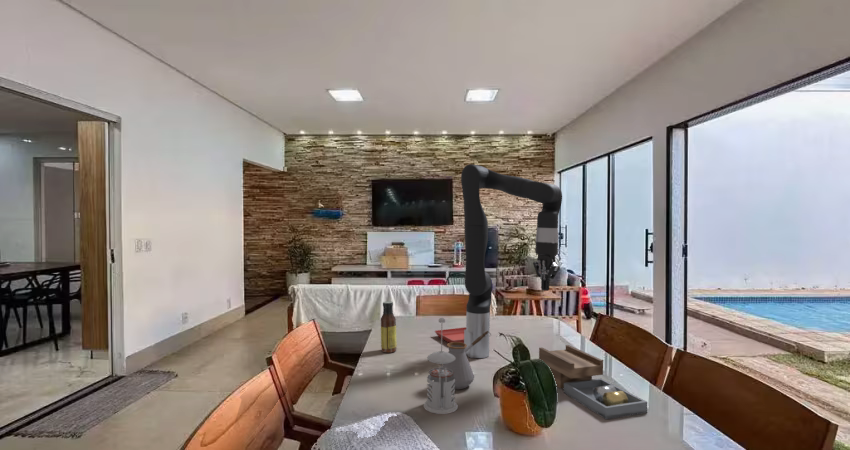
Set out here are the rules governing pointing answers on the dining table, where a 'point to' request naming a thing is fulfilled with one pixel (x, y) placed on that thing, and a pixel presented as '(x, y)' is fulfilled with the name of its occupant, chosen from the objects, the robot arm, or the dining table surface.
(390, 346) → the sauce bottle
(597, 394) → the steel slug
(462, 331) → the plant saucer
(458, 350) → the coffee pot
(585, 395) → the grey tray
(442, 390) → the french press
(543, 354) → the brown open channel
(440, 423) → the dining table surface
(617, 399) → the brass slug
